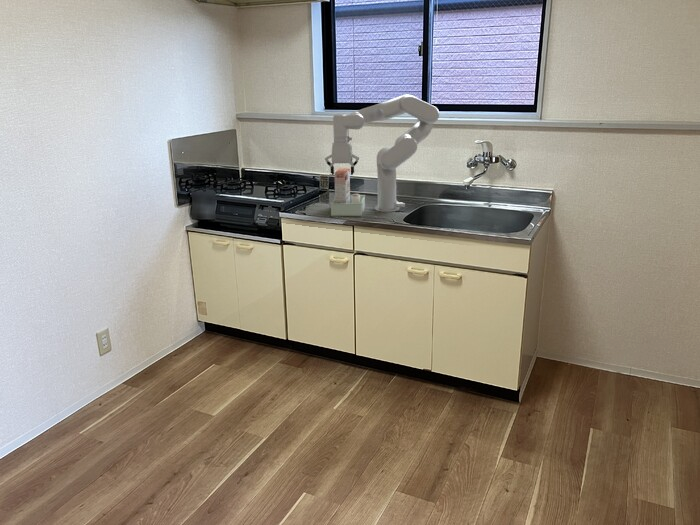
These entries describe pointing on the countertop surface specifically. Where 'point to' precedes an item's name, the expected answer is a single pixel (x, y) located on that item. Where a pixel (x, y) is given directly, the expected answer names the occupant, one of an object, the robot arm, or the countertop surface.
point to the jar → (355, 198)
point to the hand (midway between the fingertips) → (342, 174)
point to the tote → (348, 208)
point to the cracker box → (342, 185)
